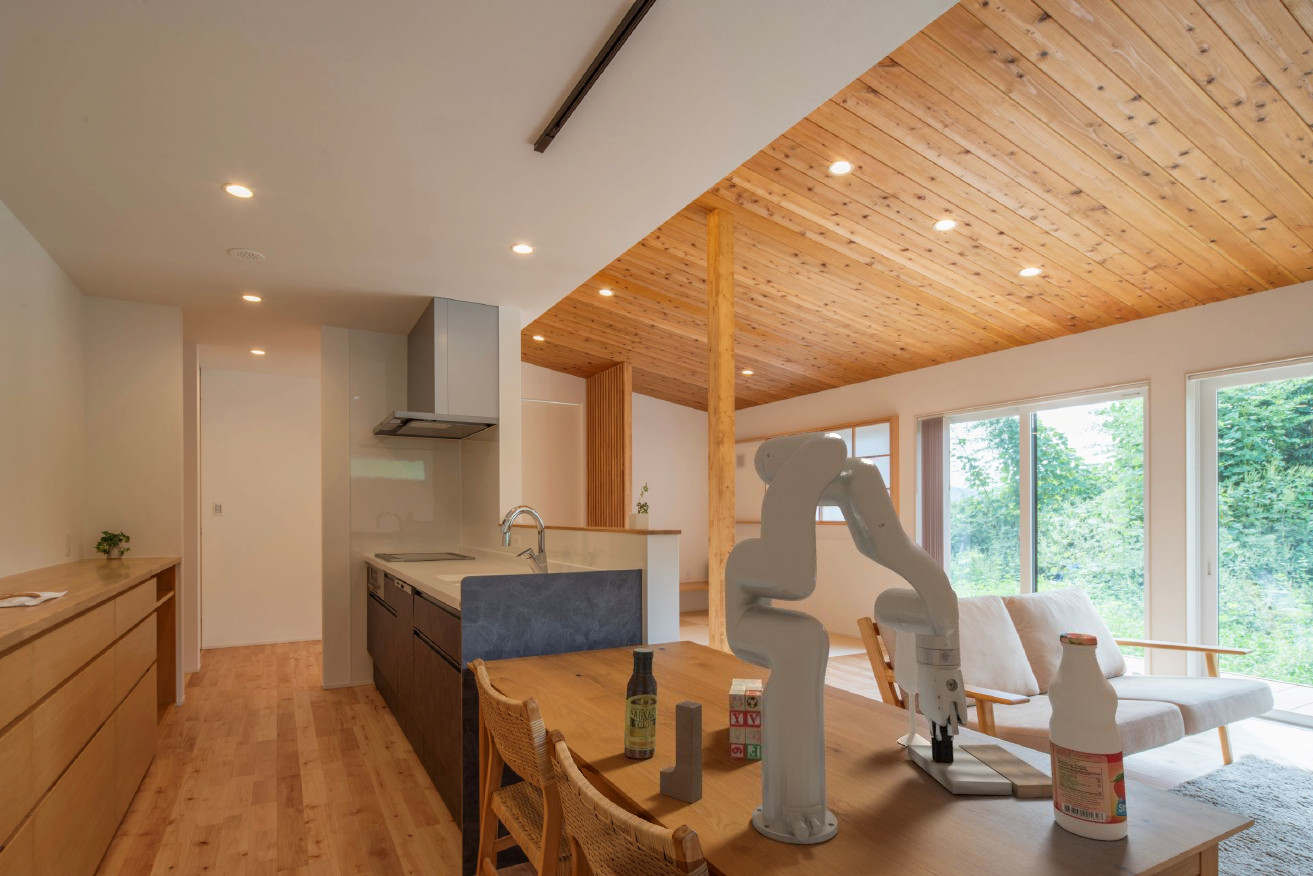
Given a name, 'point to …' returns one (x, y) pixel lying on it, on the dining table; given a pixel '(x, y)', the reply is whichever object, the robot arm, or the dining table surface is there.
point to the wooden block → (685, 756)
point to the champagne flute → (908, 681)
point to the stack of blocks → (745, 719)
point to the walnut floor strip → (1013, 770)
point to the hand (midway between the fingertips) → (943, 761)
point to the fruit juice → (1086, 745)
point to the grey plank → (961, 772)
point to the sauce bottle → (641, 707)
